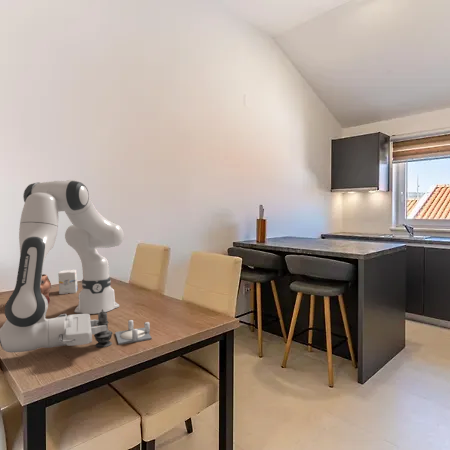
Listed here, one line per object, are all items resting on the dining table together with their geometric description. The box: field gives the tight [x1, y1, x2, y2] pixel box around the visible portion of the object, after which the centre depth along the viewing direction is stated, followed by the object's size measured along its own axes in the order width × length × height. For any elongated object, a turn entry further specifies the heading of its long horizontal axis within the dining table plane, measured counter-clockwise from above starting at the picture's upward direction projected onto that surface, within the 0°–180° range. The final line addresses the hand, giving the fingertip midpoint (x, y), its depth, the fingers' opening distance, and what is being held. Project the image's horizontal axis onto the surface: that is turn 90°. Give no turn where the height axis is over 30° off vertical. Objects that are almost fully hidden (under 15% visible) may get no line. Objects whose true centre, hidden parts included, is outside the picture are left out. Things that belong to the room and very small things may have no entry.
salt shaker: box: [93, 309, 113, 349], centre depth 113 cm, size 6×6×12 cm
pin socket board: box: [114, 319, 153, 345], centre depth 120 cm, size 12×11×4 cm
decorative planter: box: [40, 273, 52, 304], centre depth 164 cm, size 20×12×14 cm, turn 43°
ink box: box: [57, 269, 78, 295], centre depth 186 cm, size 9×8×12 cm
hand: (105, 324), depth 113 cm, fingers closed on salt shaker, 4 cm apart
